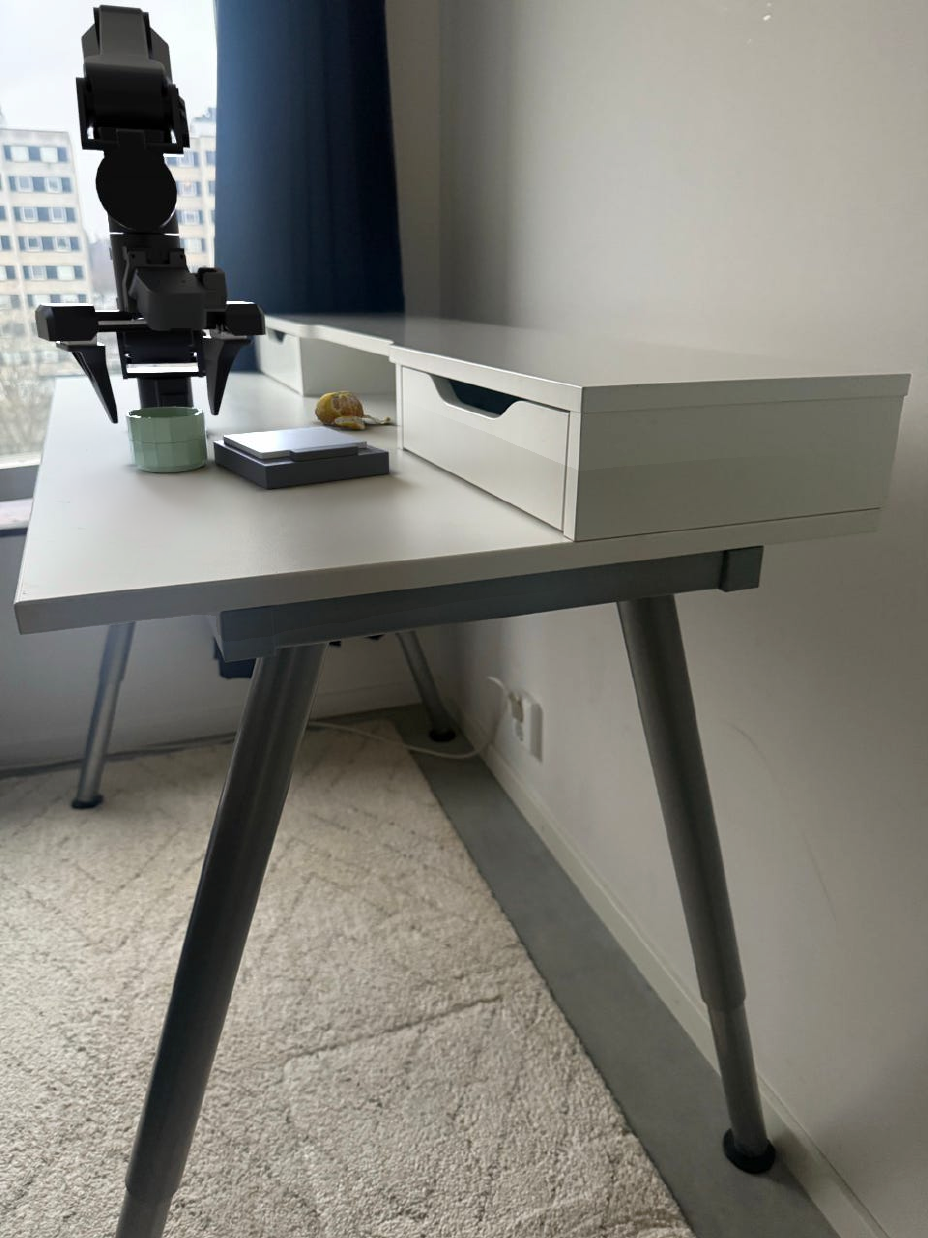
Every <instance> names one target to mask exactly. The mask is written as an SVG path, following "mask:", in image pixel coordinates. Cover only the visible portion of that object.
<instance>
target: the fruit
mask: <svg viewBox="0 0 928 1238" xmlns="http://www.w3.org/2000/svg"><path fill="white" fill-rule="evenodd" d="M314 414H315V416H316V417H317V420H319V421H320V423H321V424H322V425H323V426H325V425H331V426H333V423H334V422H335V425H337V426H338V427H347V428H349V429H351V430H363V431H364V430H365V428H366V427H365V419H369V420H372V421H374V422H375V423H377V424H380V425H383V424H385V423H389V422H390V421H391V420H392V418H390V417H389V416H387V417H386V418H378V417H374V416H371V415H370V414H365V411H364V408H363V404H362V403H361V401H360V400H359V399H358V398H357V397H356V395H355V394H354V393H353V392H352V391H348V390H340V391H335V392H329V393H325V394H323V395H322V396H321V397H320V398H319V399H318V400H317V403H316V406H315V409H314Z"/></svg>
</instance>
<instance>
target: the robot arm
mask: <svg viewBox="0 0 928 1238" xmlns="http://www.w3.org/2000/svg"><path fill="white" fill-rule="evenodd" d="M92 14H93V21H94V22H93V24H92V25H91V26H90V27H89V28H88V29H87V30H86V31H85V32H84V33H83V34H82V36H80V37H81V38H80V42H81V49H82V60H83V65H82V70H83V72H82V73H83V77H81V76H80V77H79V76H76V77H75V89H76V90H75V91H76V101H77V112H78V122H79V135H80V145H81V150H82V152H83V153H91V154H92V153H93V154H103V158H102V159H101V160H100V163H99V165H98V167H97V169H96V174H95V179H94V182H95V190H96V195H97V198H98V200H99V202H100V204H101V206H102V208H103V209H104V211H105V212H106V221H107V229H108V236H109V244H110V245H109V246H110V247H108V250H109V257H110V258H109V259H110V260H111V261H112V266H113V275H114V280H115V281H114V282H115V289H116V297H115V303H116V309H117V310H96V307H95V305H94V304H89V303H83V302H66V303H65V302H64V303H59V302H57V303H53V302H52V303H40V304H39V305H38V306H37V308H36V309H35V310H34V321H35V326H36V331H37V337H38V338H39V339H42V340H45V341H47V342H49V343H50V342H52V343H55V347H56V348H57V349H60V350H62V351H65V352H67V353H70V354H71V355H72V356H73V358H74V359H75V361H76V362H77V364H78V365H79V366H80V368H81V369H82V371H83V372H84V374H85V375H86V377H87V379H88V381H89V382H90V384H91V385H92V389H93V390H94V392H95V394H96V396H97V398H98V400H99V401H100V404H101V405H102V407H103V409H104V411H105V413H106V415H107V418H109V420H110V422H111V423H112V424H113V425H116V424H117V425H118V424H119V415H118V406H117V402H116V398H115V394H114V389H113V385H112V381H111V377H110V373H109V368H108V365H107V364H108V363H107V349H106V345H105V344H103V343H99V342H98V334H99V333H100V334H101V333H115V336H116V343H117V351H118V356H119V363H120V368H121V376H122V380H125V381H126V380H131V379H136V384H137V385H136V386H137V391H138V399H139V409H144V408H153V407H192V408H195V402H194V393H193V392H194V391H193V383H192V378H199V379H204V378H205V381H206V393H207V402H208V407H209V410H210V411H209V412H210V414H211V415H212V416H213V417H214V416H215V417H216V416H219V414H220V411H221V406H222V404H223V403H222V402H223V399H224V394H225V391H226V387H227V384H228V383H227V382H228V379H229V375H230V372H231V370H232V367H233V365H234V361H235V359H236V357H237V356H238V354H239V353H240V352H241V350H242V349H243V348H244V347H247V346H252V345H253V341H254V339H252V338H248V337H249V336H266V335H267V330H266V317H265V314H264V312H263V308H261V307H260V306H259V304H258V303H257V302H249V301H247V302H246V301H240V300H239V301H228V299H229V298H228V295H229V294H228V287H227V278H226V273H225V271H224V270H223V269H222V268H221V267H216V266H215V267H214V266H213V267H212V266H211V267H210V266H209V267H208V266H207V267H205V266H202V267H198V268H197V271H196V272H191V271H190V268H189V266H188V262H187V261H188V260H187V256H186V253H185V247H181V239H180V229H179V219H178V218H179V217H178V209H177V203H178V188H177V182H176V180H175V178H174V175H173V173H172V171H171V170H170V168H169V166H168V165H167V164H166V160H165V159H166V158H165V157H178V158H183V157H184V156H185V151H184V148H185V149H190V148H191V141H190V140H191V139H190V129H189V124H188V117H187V116H188V115H187V108H186V102H185V100H184V98H182V97H181V96H180V92H179V87H177V85H176V83H174V79H173V70H172V61H171V51H170V45H169V43H168V42H166V40H165V39H164V38H163V37H162V36H161V35H160V34H159V33H158V32H157V31H155V30H154V28H152V27H151V21H150V12H149V11H143V9H142V8H141V7H133V6H132V7H131V6H122V5H111V4H99V6H95V7H94V6H93V7H92ZM91 129H92V136H93V138H92V137H91ZM172 133H173V136H172ZM173 138H174V142H173ZM205 330H206V331H207V330H208V332H209V335H207V333H206V331H205ZM191 364H196V366H185V367H184V366H183V367H182V366H181V367H136V368H135V367H133V368H132V367H131V368H130V366H129V365H133V366H151V365H153V366H155V365H156V366H157V365H191ZM206 434H208V430H207V428H206Z"/></svg>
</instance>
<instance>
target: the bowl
mask: <svg viewBox="0 0 928 1238" xmlns="http://www.w3.org/2000/svg"><path fill="white" fill-rule="evenodd" d="M125 419H126V427H127V435H128V442H129V449H130V456H131V462H132V463H134V465H136V466H137V465H138V468H139V470H140V471H143V472H148V473H149V472H150V473H179V472H187V471H193V470H196V469H200V468H202V467H203V466H204V465H205V461H208V459H209V448H208V438H207V437H208V436H207V433H206V429H207V426H206V417H205V410H204V409H201V408H199V407H194V408H192V407H153V408H144V409H141V408H138V409H133V410H129V411H127V412H126V413H125Z"/></svg>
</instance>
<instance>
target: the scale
mask: <svg viewBox="0 0 928 1238" xmlns="http://www.w3.org/2000/svg"><path fill="white" fill-rule="evenodd" d="M212 444H213V445H212V446H213V455H214V462H215V463H216V464H218V465H220V466H221V467H223V468H225V469H227V470H230V471H232V472H233V473H235V474H237V475H240V476H241V477H243V478H245V479H247V480H249V481H250V482H253V483H255V484H256V485H258V486H260V487H262V488H263V489H266V490H273V489H280V488H288V487H295V486H296V487H297V486H302V485H303V486H304V485H310V484H311V485H312V484H319V483H324V482H333V481H334V482H335V481H341V480H348V479H355V478H363V477H371V476H379V475H386V474H390V451H387V450H384V449H381V448H379V447H376V446H373V445H370V444H368V441H367V440H364V439H361V438H358V437H355V436H353V435H349V434H346V433H343V432H340V431H337V430H333V429H331V428H328V427H325V426H324V425H323V426H311V427H310V426H309V427H299V428H289V429H279V430H278V429H277V430H269V431H259V432H258V431H256V432H245V433H236V434H227V435H226V434H225V435H223V436H222V440H214V441H212Z"/></svg>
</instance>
